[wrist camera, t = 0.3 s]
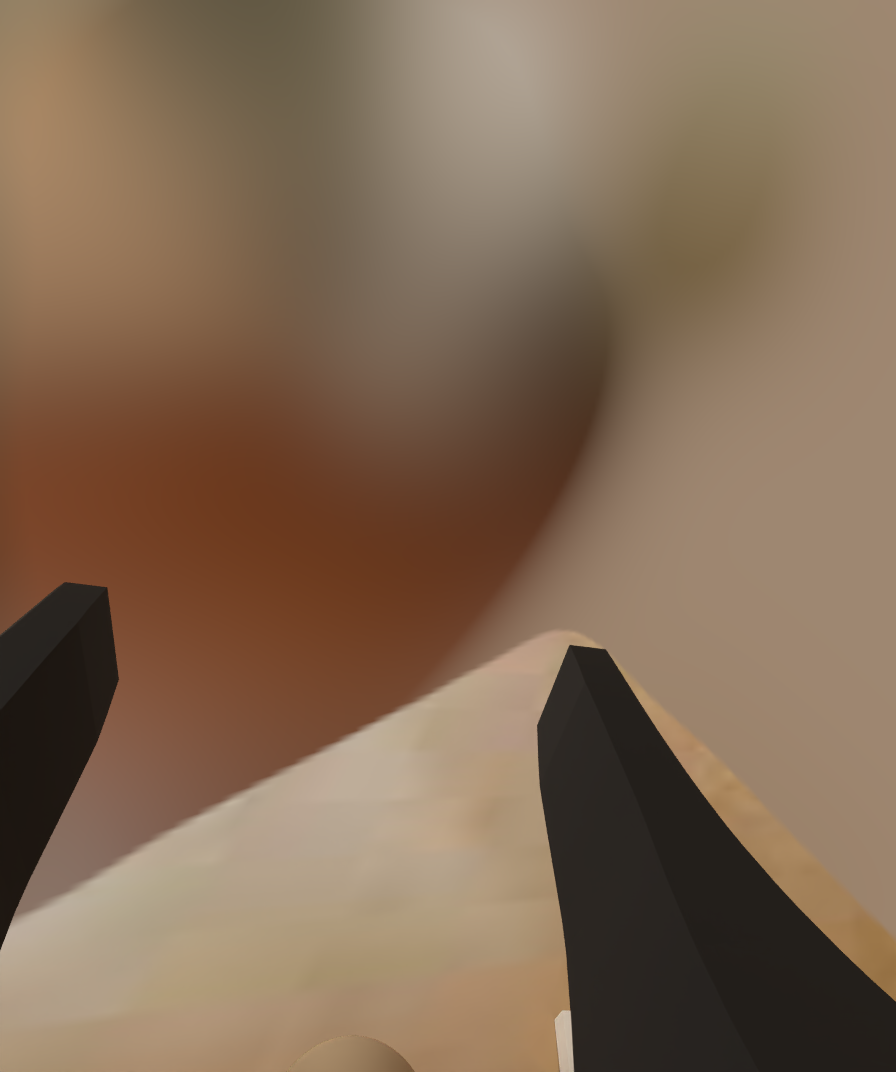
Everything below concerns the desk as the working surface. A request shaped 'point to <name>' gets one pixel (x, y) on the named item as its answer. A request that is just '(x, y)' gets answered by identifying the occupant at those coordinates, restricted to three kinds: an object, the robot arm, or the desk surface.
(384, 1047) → the rail end peg
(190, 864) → the desk surface
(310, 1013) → the desk surface
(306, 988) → the desk surface
